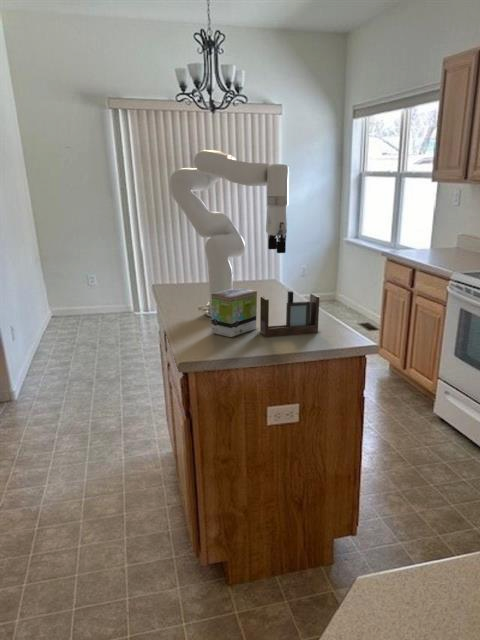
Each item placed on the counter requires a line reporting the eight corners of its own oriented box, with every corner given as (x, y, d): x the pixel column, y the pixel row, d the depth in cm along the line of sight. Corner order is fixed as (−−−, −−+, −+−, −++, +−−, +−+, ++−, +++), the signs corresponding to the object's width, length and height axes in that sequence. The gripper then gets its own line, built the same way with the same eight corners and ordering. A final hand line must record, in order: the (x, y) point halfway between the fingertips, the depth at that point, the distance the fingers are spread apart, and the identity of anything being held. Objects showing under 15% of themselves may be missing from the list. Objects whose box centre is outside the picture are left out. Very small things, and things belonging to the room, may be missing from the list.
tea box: (233, 338, 189) (232, 297, 184) (211, 333, 194) (209, 293, 188) (257, 328, 201) (257, 289, 196) (236, 324, 206) (235, 286, 200)
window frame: (265, 336, 192) (265, 299, 187) (260, 332, 197) (260, 296, 192) (317, 332, 198) (319, 296, 193) (311, 328, 204) (313, 293, 199)
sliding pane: (287, 330, 194) (288, 292, 189) (285, 329, 196) (286, 291, 191) (309, 328, 197) (311, 291, 192) (307, 327, 199) (309, 290, 194)
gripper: (260, 200, 195) (259, 248, 201) (275, 203, 180) (274, 254, 186) (279, 200, 197) (278, 247, 204) (296, 203, 182) (294, 254, 189)
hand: (276, 251), depth 195 cm, fingers open, 9 cm apart
